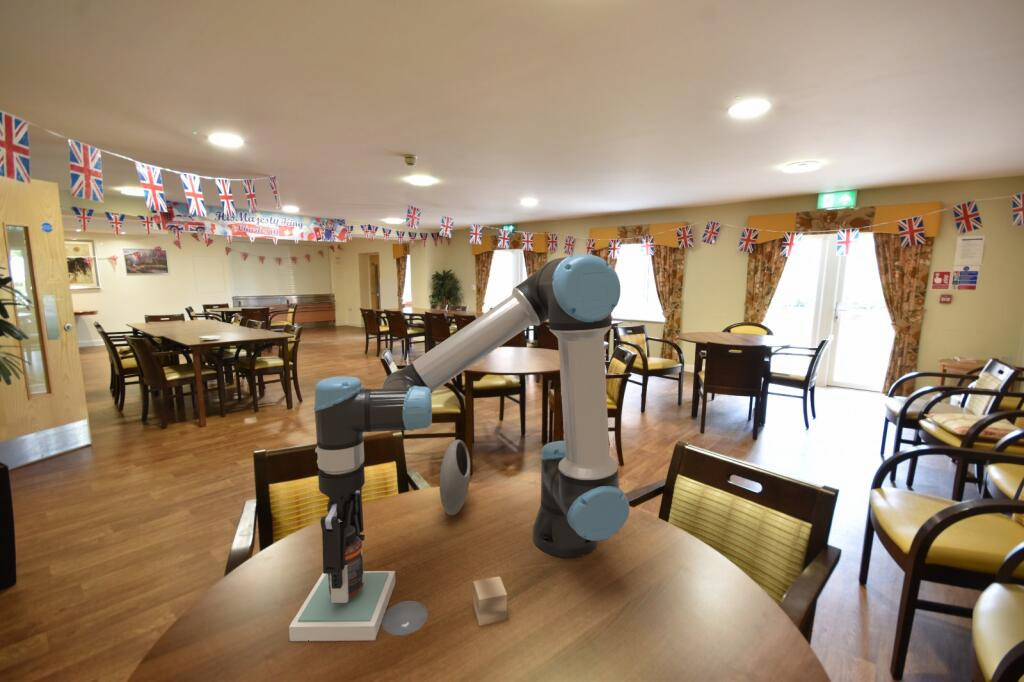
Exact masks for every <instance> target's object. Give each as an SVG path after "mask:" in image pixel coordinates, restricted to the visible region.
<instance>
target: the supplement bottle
mask: <svg viewBox="0 0 1024 682" xmlns="http://www.w3.org/2000/svg"><path fill="white" fill-rule="evenodd" d="M362 542H363V541H361V539H360V538H359V537H358V536H356V530H355V527H354V526H351V525H349V526H348V527H347V536H346V552H345V565H347V572H348V595H349V597H352V596H354V595H356V594H357V593H358V592H359V591H360V590H361V589H362V587H363V585H364V574H363V571H364V558H363V557H364V556H363V554H364V553H363V544H362ZM328 581H329V593H330V595H331V585H330V574H328Z"/></svg>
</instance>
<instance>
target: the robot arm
mask: <svg viewBox="0 0 1024 682" xmlns="http://www.w3.org/2000/svg"><path fill="white" fill-rule="evenodd" d="M620 299H621V282H620V279H619V276H618V273H617V272H616V270H615V268H614V267H613V266H612V265H611V264H610V263H609V261H607V260H605V259H604V258H602V257H600V256H597V255H594V254H586V253H583V254H581V253H578V254H572V255H568V256H565V257H560V258H555V259H552V260H550V261H548V262H547V263H545V264H543V265H542V266H541V267H540V268H539V269H538V270H537V269H536V271H535V272H533V273H532V274H531V275H530V276H529V277H527V278H526V279H524V280H523V281H522V282H520V283H519V284H518V285H516V286H515V287H513V288H512V291H511V295H510V296H508V298H505V299H504V300H503V301H501V302H500V303H498V304H497V305H495V306H494V307H492V308H491V309H489V310H488V311H487V312H485V313H483V314H482V315H480V316H479V317H478V318H476V319H475V320H473V321H472V322H470V323H468V324H467V325H465V326H464V327H462V328H461V329H459V330H458V331H457V332H455V333H453V334H452V335H450V336H449V337H448V338H446V339H445V340H444V341H442V342H440V343H439V344H437V345H435V346H434V347H433V348H432V349H430V350H429V351H427V352H426V353H424V354H423V355H421V356H420V357H418V358H417V359H414V360H413V361H412V362H411V363H410V364H408V365H406V366H404V368H402V369H399V370H398V369H397V370H394V371H393V372H392V373H390V374H389V375H388V376H387V377H386V379H385V380H384V382H383V385H382V387H381V388H363V385H362V380H360V378H359V377H356V376H347V375H344V376H343V375H342V376H331V377H327V378H323V379H321V380H320V381H318V382H317V383H316V385H314V386H315V387H314V407H313V411H314V420H315V433H316V448H315V449H314V453H315V454H317V467H318V469H319V470H318V471H317V474H318V475H317V477H318V478H317V479H318V491H319V492H320V493H321V494H323V495H325V496H327V497H328V502H327V513H328V514H327V516H322V517H321V518H320V527H321V535H322V537H321V539H322V540H321V541H322V573H324V574H330V585H331V603H347V602H348V600H349V595H348V572H347V565H345V552H346V536H347V527H348V526H349V525H351V526H354V527H355V530H356V536H358V537H359V538H360V539H361V541H362V542H363V541H364V540H365V538H366V535H365V534H361V533H363V532H364V530H365V527H364V512H363V498H362V497H363V495H362V492H363V491H362V490H363V487H364V485H365V481H366V477H365V476H366V475H365V473H366V472H365V464H364V463H365V448H364V447H365V446H364V443H365V442H364V435H363V434H364V433H373V432H374V433H376V432H394V431H395V432H396V431H398V432H399V431H409V432H410V431H414V430H423V429H427V428H429V427H430V426H431V425H432V423H433V420H432V419H433V408H432V407H433V406H432V404H433V403H432V394H433V393H434V392H435V391H436V390H438V389H440V388H441V387H442V386H444V385H445V384H447V383H448V382H450V381H451V380H452V379H454V378H455V377H457V376H458V375H460V374H461V373H463V372H465V371H466V370H467V369H469V368H470V367H471V366H473V365H474V364H476V363H477V362H479V361H480V360H483V358H485V357H487V356H488V355H490V354H491V353H492V352H494V351H495V350H496V349H498V348H500V347H501V346H503V345H504V344H505V343H507V342H508V341H510V340H511V339H513V338H514V337H516V336H517V335H518V334H520V333H522V332H524V331H525V330H526V329H527V328H529V327H531V326H536V327H539V326H541V325H542V324H543V323H544V322H546V321H548V329H549V332H551V333H552V334H553V335H554V336H555V337H556V338H557V344H558V359H559V362H558V363H559V376H560V377H559V378H560V391H561V405H562V406H561V407H562V421H563V437H564V440H557V441H552V442H548V443H546V444H545V445H543V447H542V449H541V457H540V461H541V463H540V464H541V465H540V468H541V469H540V506H539V509H538V512H537V514H536V517H535V520H534V523H533V527H532V540H533V542H534V544H535V546H536V547H537V548H538V549H539V550H540V551H542V552H544V553H547V554H549V555H551V556H555V557H559V558H567V559H568V558H569V559H570V558H571V559H572V558H579V557H583V556H587V555H588V554H590V553H592V552H593V551H594V550H595V549H596V547H597V546H598V542H599V541H603V540H607V539H609V538H611V537H613V536H615V535H616V534H617V533H619V530H620V529H621V528H623V527H624V526H625V524H626V523H627V521H628V519H629V515H630V502H629V499H628V498H627V496H626V493H625V492H624V491H623V490H622V489H621V488H620V481H619V464H618V462H617V460H615V458H614V457H612V456H611V455H610V443H609V442H610V439H609V437H610V436H609V417H608V398H607V396H608V395H607V379H606V377H607V376H606V375H607V374H606V372H607V371H606V357H605V356H606V355H605V335H606V334H607V333H608V331H609V330H611V328H612V327H613V325H612V322H613V320H612V313H613V311H614V310H615V308H616V307H617V306H618V304H619V302H620Z"/></svg>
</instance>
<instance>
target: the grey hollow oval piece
mask: <svg viewBox="0 0 1024 682" xmlns="http://www.w3.org/2000/svg"><path fill="white" fill-rule="evenodd" d="M470 460H471V459H470V453H469V449H468V447H467V445H466V443H465V442H464V441H463V440H461V439H454V440H453V441H452V442H451V443H450V444H449V446H448V447H447V449H446V450H445V454H444V456H443V458H442V462H441V467H440V473H439V496H440V497H439V498H440V501H441V505H442V508H443V510H444V511H445V513H446V514H448V515H449V516H456V515H457V514H458V513H459V512H460V511H461V510H462V508H463V506H464V504H465V502H466V499H467V495H468V492H469V488H470V487H469V486H470V480H471V478H470V477H471V461H470Z"/></svg>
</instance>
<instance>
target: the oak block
mask: <svg viewBox="0 0 1024 682" xmlns="http://www.w3.org/2000/svg"><path fill="white" fill-rule="evenodd" d="M473 607H474V612H475V615H476V619H477V622H478V625H479V626H485V625H489V624H495V623H499V622H503V621H507V620H508V593H507V590H506V589H505V586H504V583H503V581H502V578H501V576H493V577H488V578H483V579H482V578H481V579H477V580H473Z"/></svg>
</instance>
